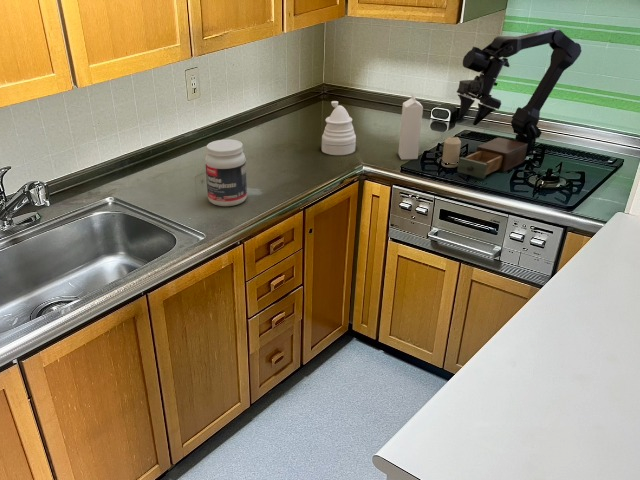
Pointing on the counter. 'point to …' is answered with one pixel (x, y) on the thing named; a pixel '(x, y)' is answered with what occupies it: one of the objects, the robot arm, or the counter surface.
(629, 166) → the counter surface
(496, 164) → the drawer
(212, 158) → the supplement tub
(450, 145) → the candle
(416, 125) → the milk
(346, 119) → the honey pot
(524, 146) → the cabinet
